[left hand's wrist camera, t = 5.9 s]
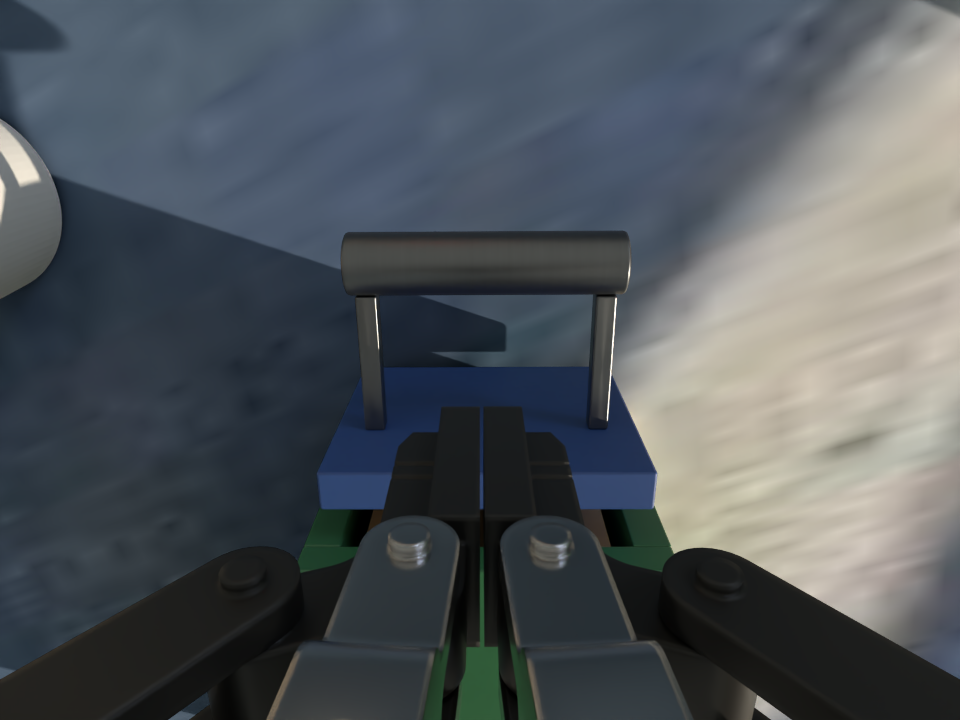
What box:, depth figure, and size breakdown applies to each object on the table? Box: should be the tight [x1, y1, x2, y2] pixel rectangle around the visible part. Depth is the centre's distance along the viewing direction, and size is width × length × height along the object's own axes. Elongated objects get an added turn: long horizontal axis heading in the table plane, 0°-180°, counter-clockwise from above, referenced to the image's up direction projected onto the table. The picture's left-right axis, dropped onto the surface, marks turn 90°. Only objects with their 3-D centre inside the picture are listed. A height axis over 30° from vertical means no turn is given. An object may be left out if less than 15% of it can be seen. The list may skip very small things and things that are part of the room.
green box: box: [298, 506, 674, 720], centre depth 26 cm, size 20×10×10 cm, turn 0°
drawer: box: [316, 231, 657, 547], centre depth 24 cm, size 25×9×8 cm, turn 0°
